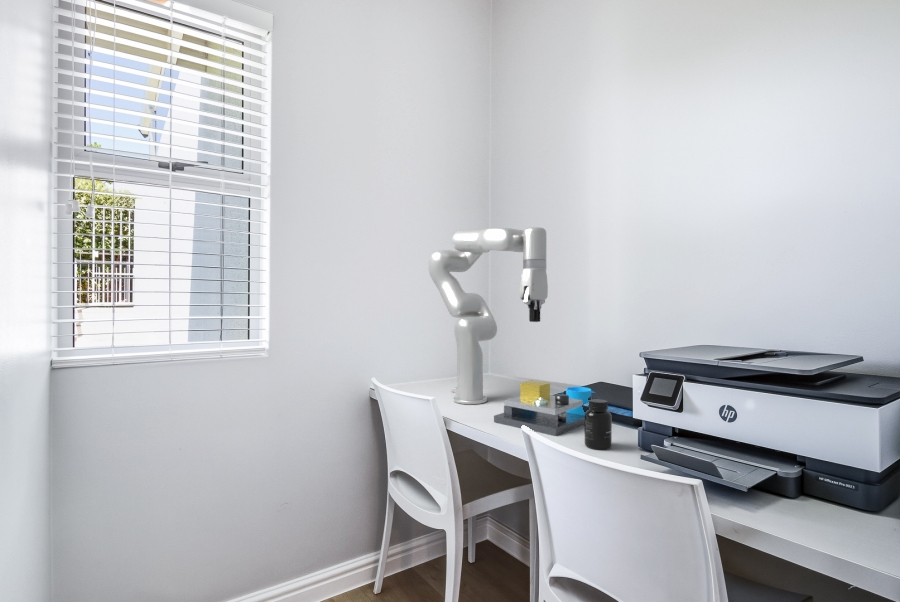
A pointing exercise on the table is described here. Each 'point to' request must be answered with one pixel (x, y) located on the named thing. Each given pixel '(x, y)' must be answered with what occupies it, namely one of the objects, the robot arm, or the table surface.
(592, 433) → the supplement bottle
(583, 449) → the table surface
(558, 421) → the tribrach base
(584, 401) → the mug
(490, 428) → the table surface
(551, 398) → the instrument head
